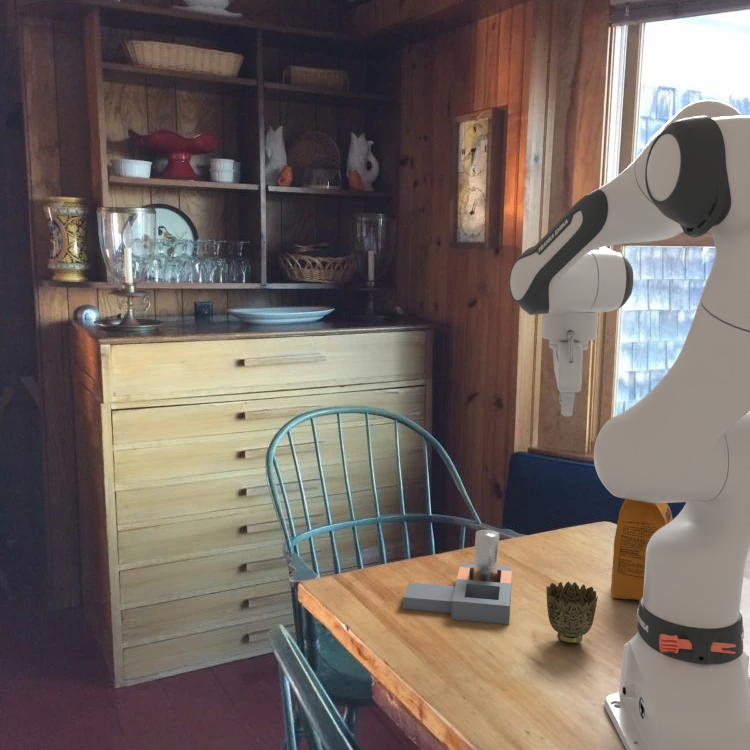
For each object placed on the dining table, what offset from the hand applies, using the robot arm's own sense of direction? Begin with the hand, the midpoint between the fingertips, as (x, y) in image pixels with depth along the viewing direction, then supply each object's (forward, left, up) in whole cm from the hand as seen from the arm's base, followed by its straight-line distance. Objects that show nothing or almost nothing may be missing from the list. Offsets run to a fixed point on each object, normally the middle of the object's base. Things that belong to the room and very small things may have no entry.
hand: (565, 410), depth 135 cm
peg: (-6, +12, -31) cm, 34 cm away
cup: (-21, -1, -31) cm, 38 cm away
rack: (-9, +16, -31) cm, 36 cm away
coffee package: (0, -14, -31) cm, 34 cm away
